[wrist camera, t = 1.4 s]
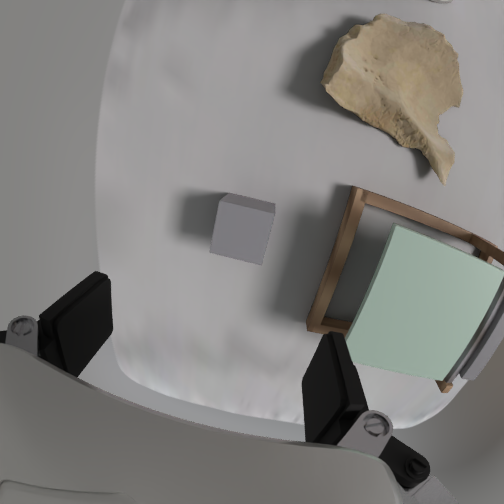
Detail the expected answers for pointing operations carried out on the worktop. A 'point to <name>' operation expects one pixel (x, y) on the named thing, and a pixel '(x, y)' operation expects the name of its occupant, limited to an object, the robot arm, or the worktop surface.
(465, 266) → the trapdoor
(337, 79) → the rock
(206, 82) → the worktop surface
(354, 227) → the frame
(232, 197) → the block
